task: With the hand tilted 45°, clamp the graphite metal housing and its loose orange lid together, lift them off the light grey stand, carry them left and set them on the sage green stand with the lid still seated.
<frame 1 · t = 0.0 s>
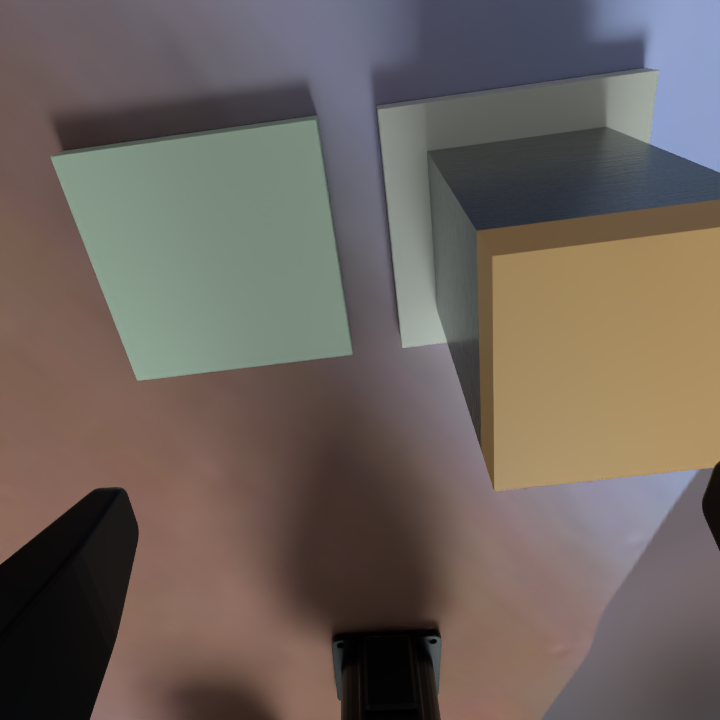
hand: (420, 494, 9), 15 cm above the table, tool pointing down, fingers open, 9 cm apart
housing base: (515, 225, 21), point 1 cm above the table, touching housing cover, stand a
stand b: (221, 255, 22), on the table
stand a: (508, 217, 22), on the table
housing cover: (607, 337, 13), point 9 cm above the table, touching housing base
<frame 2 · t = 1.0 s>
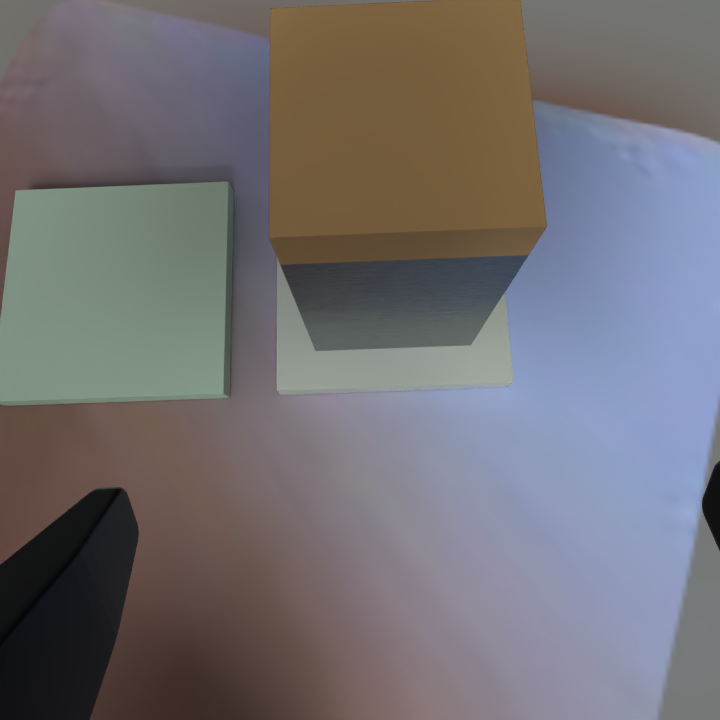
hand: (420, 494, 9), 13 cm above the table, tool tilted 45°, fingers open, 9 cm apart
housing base: (389, 275, 23), point 1 cm above the table, touching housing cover, stand a
stand b: (125, 295, 24), on the table
stand a: (388, 284, 24), on the table
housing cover: (398, 149, 15), point 9 cm above the table, touching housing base
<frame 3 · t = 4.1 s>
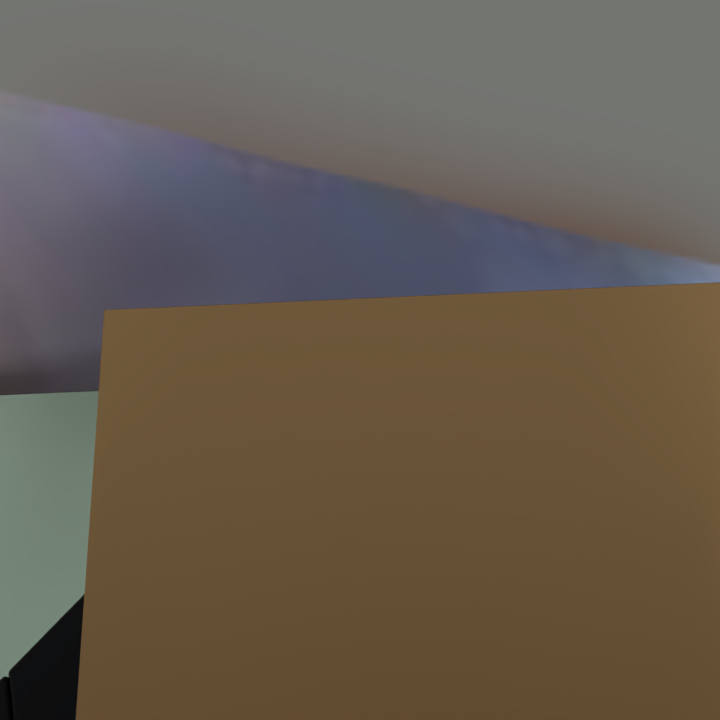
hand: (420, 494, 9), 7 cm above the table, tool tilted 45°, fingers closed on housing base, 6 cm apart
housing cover: (456, 635, 6), point 9 cm above the table, touching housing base
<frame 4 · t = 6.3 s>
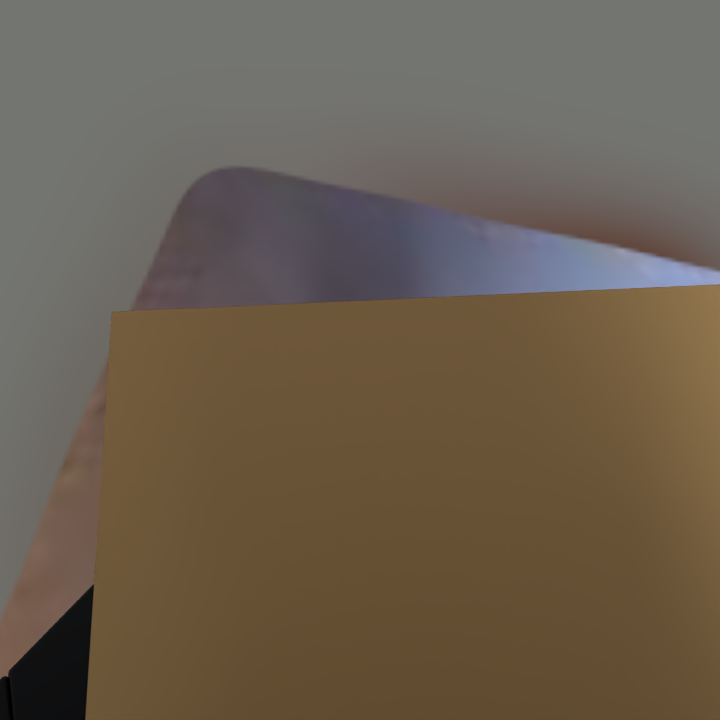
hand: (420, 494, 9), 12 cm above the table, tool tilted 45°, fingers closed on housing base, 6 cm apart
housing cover: (456, 630, 6), point 15 cm above the table, touching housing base
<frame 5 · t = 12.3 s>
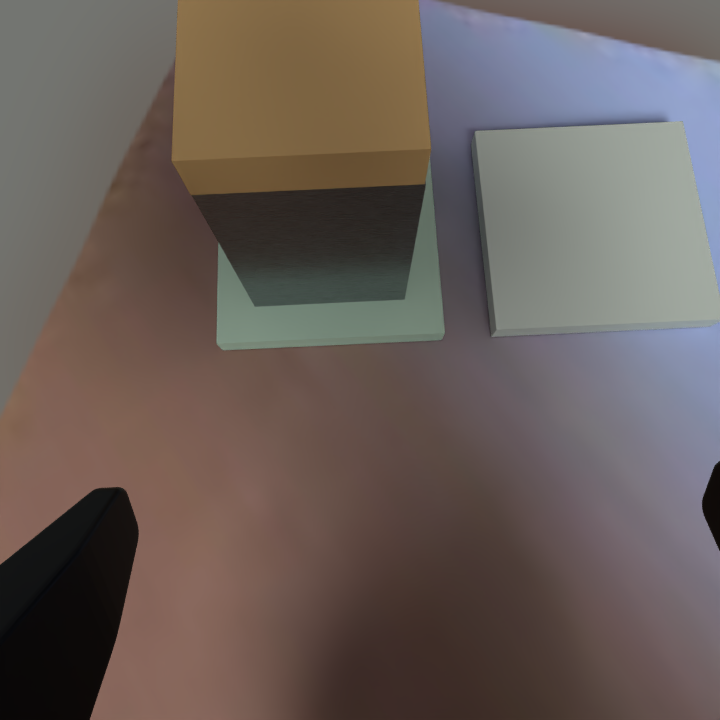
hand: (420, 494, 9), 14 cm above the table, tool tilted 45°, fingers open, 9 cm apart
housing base: (327, 234, 24), point 1 cm above the table, touching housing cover, stand b
stand b: (328, 244, 25), on the table
stand a: (585, 231, 25), on the table
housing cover: (305, 89, 15), point 9 cm above the table, touching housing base
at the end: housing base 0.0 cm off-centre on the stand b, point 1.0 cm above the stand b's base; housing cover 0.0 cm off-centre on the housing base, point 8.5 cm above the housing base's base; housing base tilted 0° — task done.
